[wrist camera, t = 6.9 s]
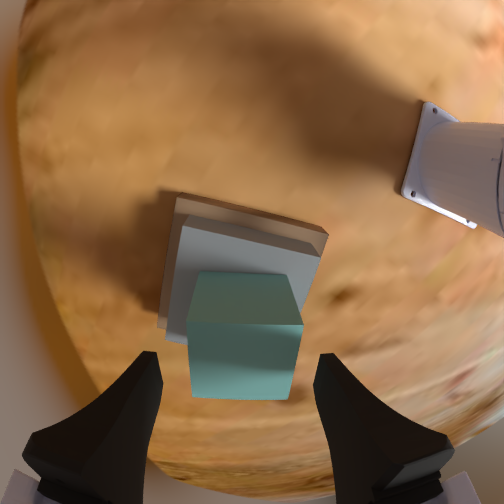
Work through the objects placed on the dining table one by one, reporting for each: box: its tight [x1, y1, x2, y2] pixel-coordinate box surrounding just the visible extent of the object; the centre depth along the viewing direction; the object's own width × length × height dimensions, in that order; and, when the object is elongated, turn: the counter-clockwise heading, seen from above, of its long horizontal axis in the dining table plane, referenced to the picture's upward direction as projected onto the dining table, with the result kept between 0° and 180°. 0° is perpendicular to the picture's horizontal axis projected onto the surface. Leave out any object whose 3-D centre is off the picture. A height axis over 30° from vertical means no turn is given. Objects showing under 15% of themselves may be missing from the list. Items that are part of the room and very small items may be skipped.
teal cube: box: [186, 271, 304, 400], centre depth 15 cm, size 5×5×5 cm
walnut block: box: [157, 192, 329, 330], centre depth 21 cm, size 10×10×2 cm
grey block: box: [165, 215, 321, 345], centre depth 19 cm, size 8×8×2 cm
